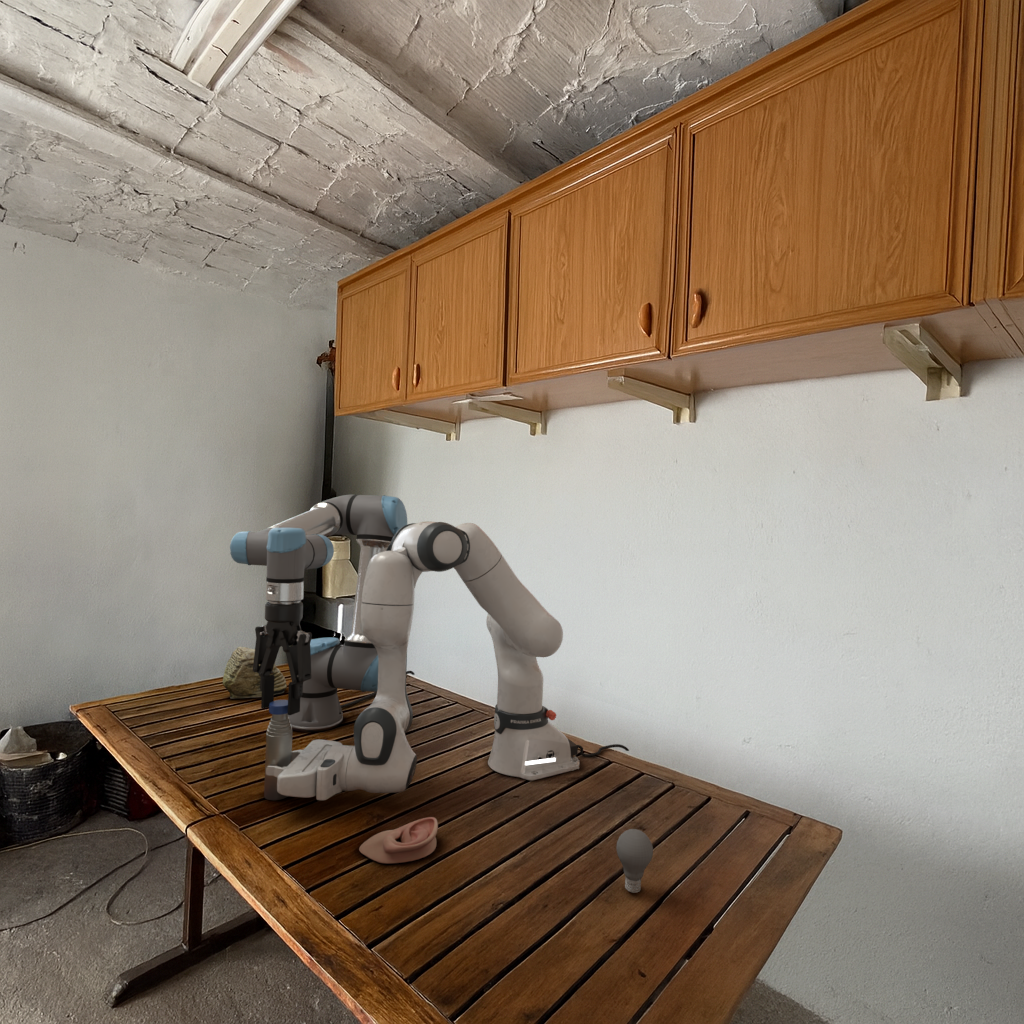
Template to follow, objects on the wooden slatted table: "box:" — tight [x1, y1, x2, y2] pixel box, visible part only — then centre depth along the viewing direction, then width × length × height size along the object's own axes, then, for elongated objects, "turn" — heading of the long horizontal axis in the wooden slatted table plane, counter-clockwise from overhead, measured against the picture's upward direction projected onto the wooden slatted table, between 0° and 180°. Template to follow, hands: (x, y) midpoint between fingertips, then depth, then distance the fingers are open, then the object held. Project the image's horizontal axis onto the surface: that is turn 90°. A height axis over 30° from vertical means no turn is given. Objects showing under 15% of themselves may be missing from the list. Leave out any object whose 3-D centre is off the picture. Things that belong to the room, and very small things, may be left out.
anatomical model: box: [358, 816, 439, 864], centre depth 116 cm, size 13×4×12 cm
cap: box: [268, 699, 288, 715], centre depth 134 cm, size 4×4×2 cm
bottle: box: [263, 713, 294, 801], centre depth 134 cm, size 5×5×19 cm
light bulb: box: [615, 828, 654, 894], centre depth 106 cm, size 6×6×10 cm
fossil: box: [222, 646, 288, 699], centre depth 198 cm, size 9×18×15 cm, turn 132°
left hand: (280, 709), depth 134 cm, fingers open, 7 cm apart
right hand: (274, 762), depth 134 cm, fingers closed on bottle, 5 cm apart
